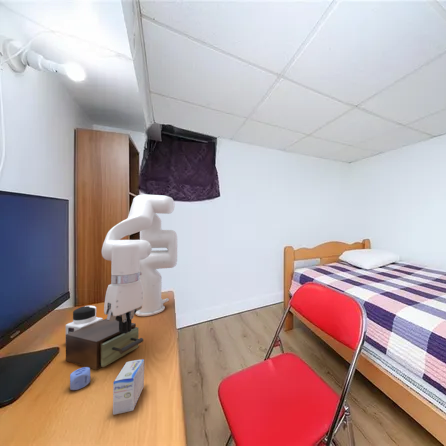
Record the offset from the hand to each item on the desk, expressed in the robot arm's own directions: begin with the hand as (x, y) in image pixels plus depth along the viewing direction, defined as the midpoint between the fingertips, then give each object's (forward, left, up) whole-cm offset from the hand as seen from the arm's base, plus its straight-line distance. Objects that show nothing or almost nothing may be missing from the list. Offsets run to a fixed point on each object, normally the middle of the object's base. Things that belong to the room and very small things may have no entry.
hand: (125, 331), depth 73 cm
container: (-4, -27, -10) cm, 29 cm away
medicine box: (+12, +18, -10) cm, 24 cm away
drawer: (0, -6, -9) cm, 11 cm away
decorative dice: (+12, -1, -10) cm, 16 cm away
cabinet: (0, -11, -10) cm, 15 cm away
